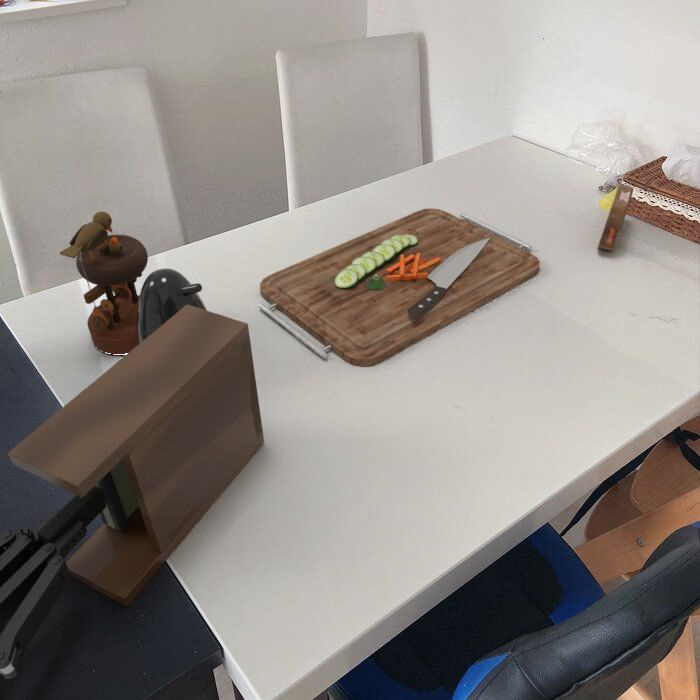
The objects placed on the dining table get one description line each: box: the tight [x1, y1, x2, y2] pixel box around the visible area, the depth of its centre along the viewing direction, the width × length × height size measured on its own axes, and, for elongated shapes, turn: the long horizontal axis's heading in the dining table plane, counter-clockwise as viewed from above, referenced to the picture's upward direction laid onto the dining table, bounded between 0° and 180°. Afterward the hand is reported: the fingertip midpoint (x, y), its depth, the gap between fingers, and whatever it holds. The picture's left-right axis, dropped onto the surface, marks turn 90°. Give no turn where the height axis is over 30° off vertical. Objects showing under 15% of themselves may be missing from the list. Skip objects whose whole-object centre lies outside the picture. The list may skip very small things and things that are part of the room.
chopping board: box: [258, 207, 541, 368], centre depth 109 cm, size 45×27×3 cm, turn 130°
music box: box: [59, 211, 149, 354], centre depth 94 cm, size 15×11×20 cm
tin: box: [597, 182, 634, 251], centre depth 116 cm, size 15×3×8 cm, turn 155°
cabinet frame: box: [7, 305, 265, 608], centre depth 70 cm, size 8×24×18 cm, turn 153°
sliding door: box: [95, 458, 139, 532], centre depth 70 cm, size 2×11×14 cm, turn 153°
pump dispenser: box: [136, 267, 208, 345], centre depth 89 cm, size 10×10×15 cm
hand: (97, 495), depth 67 cm, fingers closed
